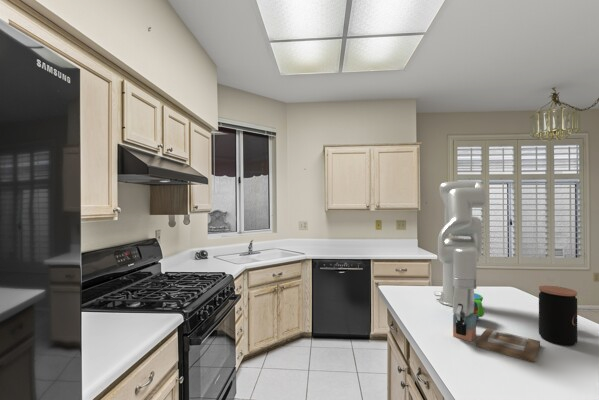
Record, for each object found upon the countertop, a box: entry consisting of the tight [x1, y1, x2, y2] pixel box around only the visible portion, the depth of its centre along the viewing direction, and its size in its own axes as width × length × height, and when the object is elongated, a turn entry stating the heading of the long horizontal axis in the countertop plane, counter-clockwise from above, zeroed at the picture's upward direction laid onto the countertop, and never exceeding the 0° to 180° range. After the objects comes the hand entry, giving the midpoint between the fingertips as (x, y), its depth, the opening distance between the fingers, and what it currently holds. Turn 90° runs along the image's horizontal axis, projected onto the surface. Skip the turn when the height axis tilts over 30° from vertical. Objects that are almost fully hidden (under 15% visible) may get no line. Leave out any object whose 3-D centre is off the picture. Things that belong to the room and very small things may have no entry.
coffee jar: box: [538, 285, 578, 347], centre depth 112 cm, size 11×11×18 cm
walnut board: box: [475, 327, 541, 363], centre depth 106 cm, size 16×16×2 cm
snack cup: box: [473, 292, 485, 322], centre depth 131 cm, size 16×10×10 cm
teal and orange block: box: [452, 313, 477, 342], centre depth 114 cm, size 6×6×8 cm
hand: (464, 330), depth 114 cm, fingers open, 8 cm apart
